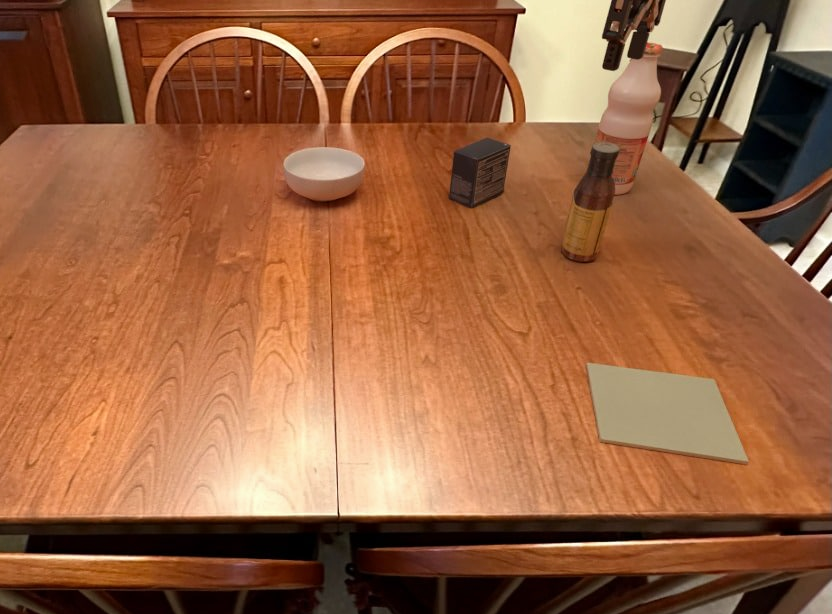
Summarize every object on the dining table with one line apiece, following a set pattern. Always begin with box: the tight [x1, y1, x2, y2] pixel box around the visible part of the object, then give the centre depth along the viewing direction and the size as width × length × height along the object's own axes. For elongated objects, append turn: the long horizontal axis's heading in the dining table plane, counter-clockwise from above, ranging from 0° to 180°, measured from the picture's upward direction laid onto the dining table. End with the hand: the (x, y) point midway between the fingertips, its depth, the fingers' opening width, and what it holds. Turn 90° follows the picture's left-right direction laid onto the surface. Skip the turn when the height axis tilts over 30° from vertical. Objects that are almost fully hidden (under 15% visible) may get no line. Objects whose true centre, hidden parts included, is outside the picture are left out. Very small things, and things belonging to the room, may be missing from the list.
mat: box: [585, 362, 750, 465], centre depth 76 cm, size 16×14×1 cm
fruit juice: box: [587, 41, 663, 196], centre depth 119 cm, size 9×9×28 cm
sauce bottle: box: [561, 142, 620, 263], centre depth 100 cm, size 6×6×20 cm
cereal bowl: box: [282, 146, 366, 203], centre depth 125 cm, size 17×17×7 cm
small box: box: [448, 137, 512, 209], centre depth 122 cm, size 11×6×10 cm, turn 130°
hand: (622, 63), depth 91 cm, fingers open, 8 cm apart
